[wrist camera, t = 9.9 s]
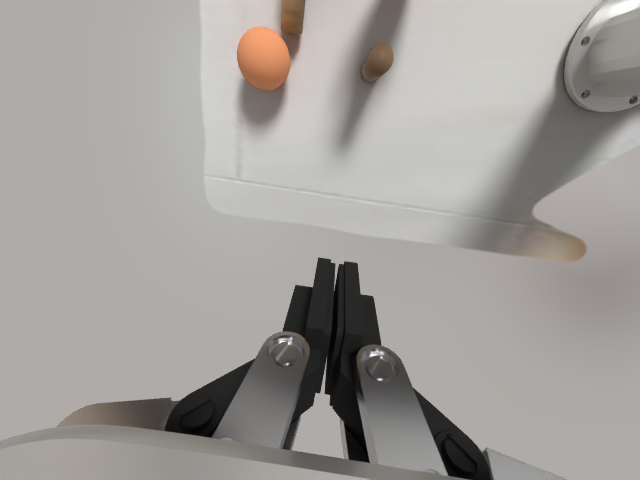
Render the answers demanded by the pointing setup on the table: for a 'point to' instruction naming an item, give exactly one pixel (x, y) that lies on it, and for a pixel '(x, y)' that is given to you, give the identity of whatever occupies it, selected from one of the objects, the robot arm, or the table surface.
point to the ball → (263, 58)
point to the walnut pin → (377, 63)
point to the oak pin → (293, 16)
